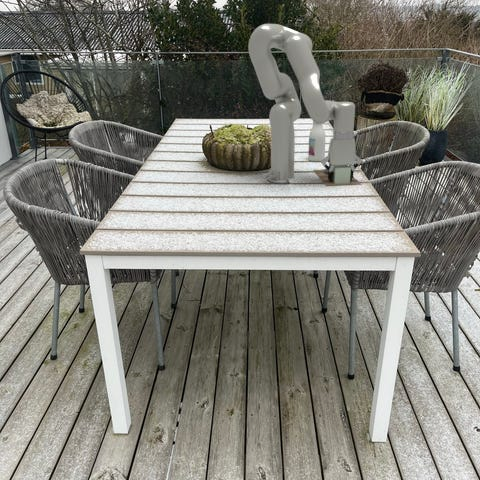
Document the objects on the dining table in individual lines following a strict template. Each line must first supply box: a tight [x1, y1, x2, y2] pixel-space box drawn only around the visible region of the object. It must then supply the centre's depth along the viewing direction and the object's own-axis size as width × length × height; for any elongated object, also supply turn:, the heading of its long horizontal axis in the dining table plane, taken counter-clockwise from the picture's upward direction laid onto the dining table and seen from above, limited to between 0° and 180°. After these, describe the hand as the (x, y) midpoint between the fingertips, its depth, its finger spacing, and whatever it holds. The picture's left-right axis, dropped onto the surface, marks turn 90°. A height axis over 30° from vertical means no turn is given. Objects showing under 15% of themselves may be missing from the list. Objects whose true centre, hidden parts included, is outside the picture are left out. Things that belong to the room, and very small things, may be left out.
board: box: [312, 162, 362, 187], centre depth 191 cm, size 24×14×10 cm, turn 4°
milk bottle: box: [308, 120, 326, 162], centre depth 221 cm, size 8×8×20 cm
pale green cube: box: [332, 165, 351, 184], centre depth 185 cm, size 6×6×6 cm
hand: (340, 180), depth 186 cm, fingers open, 7 cm apart
